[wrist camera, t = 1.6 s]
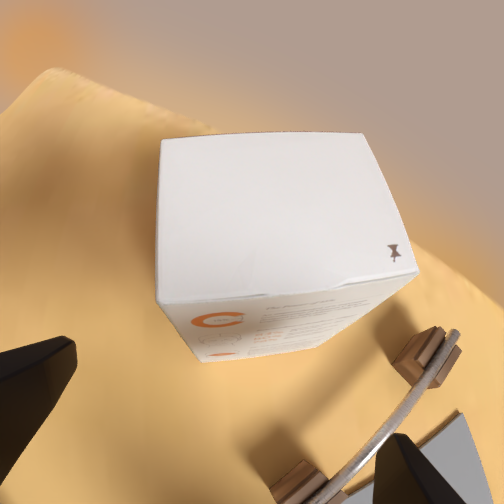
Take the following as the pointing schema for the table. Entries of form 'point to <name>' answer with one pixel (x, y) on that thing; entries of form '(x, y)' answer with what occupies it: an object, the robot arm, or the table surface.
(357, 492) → the mat
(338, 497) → the rod stand
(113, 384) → the table surface
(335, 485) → the steel rod
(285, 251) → the small box
